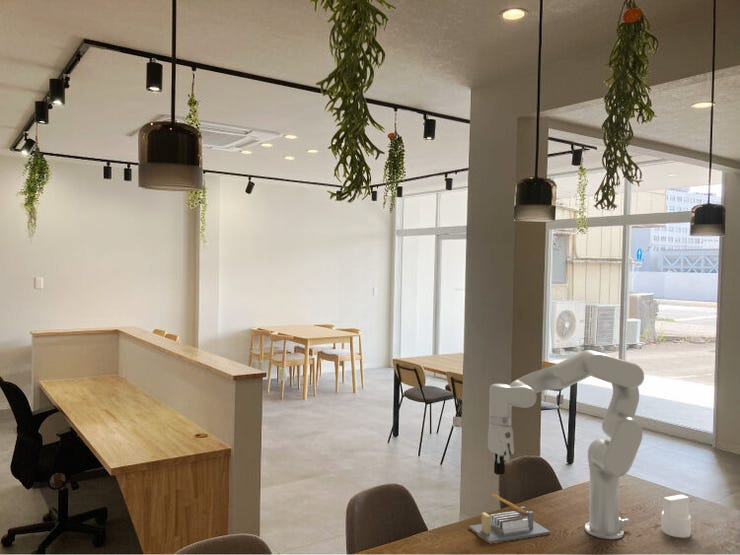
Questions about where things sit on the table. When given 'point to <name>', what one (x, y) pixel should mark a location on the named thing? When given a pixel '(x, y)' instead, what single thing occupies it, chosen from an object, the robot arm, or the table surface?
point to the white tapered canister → (676, 516)
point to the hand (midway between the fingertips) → (499, 473)
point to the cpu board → (495, 536)
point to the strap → (510, 504)
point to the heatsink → (509, 523)
